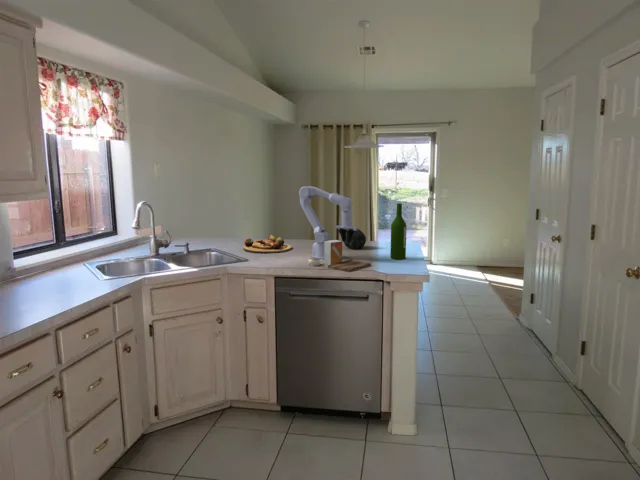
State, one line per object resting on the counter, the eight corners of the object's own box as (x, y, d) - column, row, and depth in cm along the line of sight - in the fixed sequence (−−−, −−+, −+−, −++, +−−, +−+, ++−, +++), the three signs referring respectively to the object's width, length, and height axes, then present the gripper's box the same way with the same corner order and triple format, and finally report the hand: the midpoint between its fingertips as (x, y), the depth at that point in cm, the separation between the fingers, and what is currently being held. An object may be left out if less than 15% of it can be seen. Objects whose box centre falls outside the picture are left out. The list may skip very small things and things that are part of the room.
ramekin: (305, 265, 251) (305, 258, 251) (313, 263, 256) (313, 257, 256) (314, 266, 247) (314, 260, 247) (322, 264, 252) (322, 258, 251)
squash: (356, 237, 314) (347, 222, 306) (373, 240, 304) (363, 225, 295) (345, 252, 309) (335, 238, 300) (361, 256, 298) (352, 241, 290)
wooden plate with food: (234, 252, 290) (234, 239, 289) (255, 244, 320) (255, 232, 319) (281, 256, 281) (281, 243, 280) (298, 247, 311) (298, 235, 310)
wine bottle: (405, 260, 264) (407, 204, 259) (390, 259, 266) (391, 204, 261) (405, 257, 273) (407, 203, 267) (390, 256, 274) (391, 202, 269)
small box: (330, 265, 249) (330, 242, 247) (324, 263, 255) (324, 240, 253) (342, 264, 254) (342, 241, 252) (335, 262, 259) (335, 239, 257)
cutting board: (328, 268, 244) (328, 265, 244) (350, 262, 259) (350, 259, 258) (348, 271, 235) (348, 269, 235) (370, 265, 250) (370, 262, 249)
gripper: (332, 218, 265) (332, 241, 267) (352, 220, 255) (352, 243, 258) (339, 217, 270) (340, 240, 272) (359, 219, 261) (359, 242, 263)
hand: (346, 241), depth 265 cm, fingers open, 3 cm apart
